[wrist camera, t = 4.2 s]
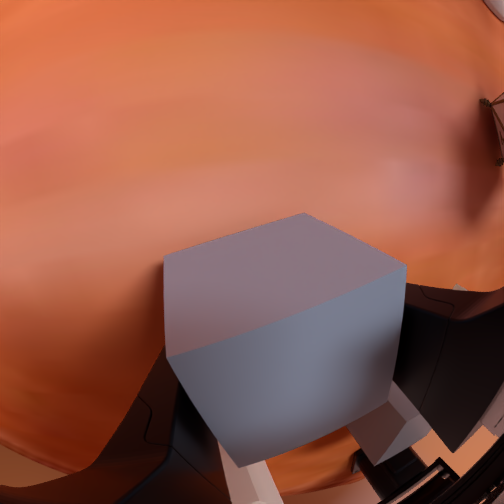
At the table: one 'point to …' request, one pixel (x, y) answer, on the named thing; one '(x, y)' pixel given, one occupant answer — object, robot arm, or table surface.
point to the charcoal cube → (389, 427)
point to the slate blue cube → (282, 332)
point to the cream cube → (249, 482)
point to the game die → (498, 121)
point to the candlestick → (496, 7)
